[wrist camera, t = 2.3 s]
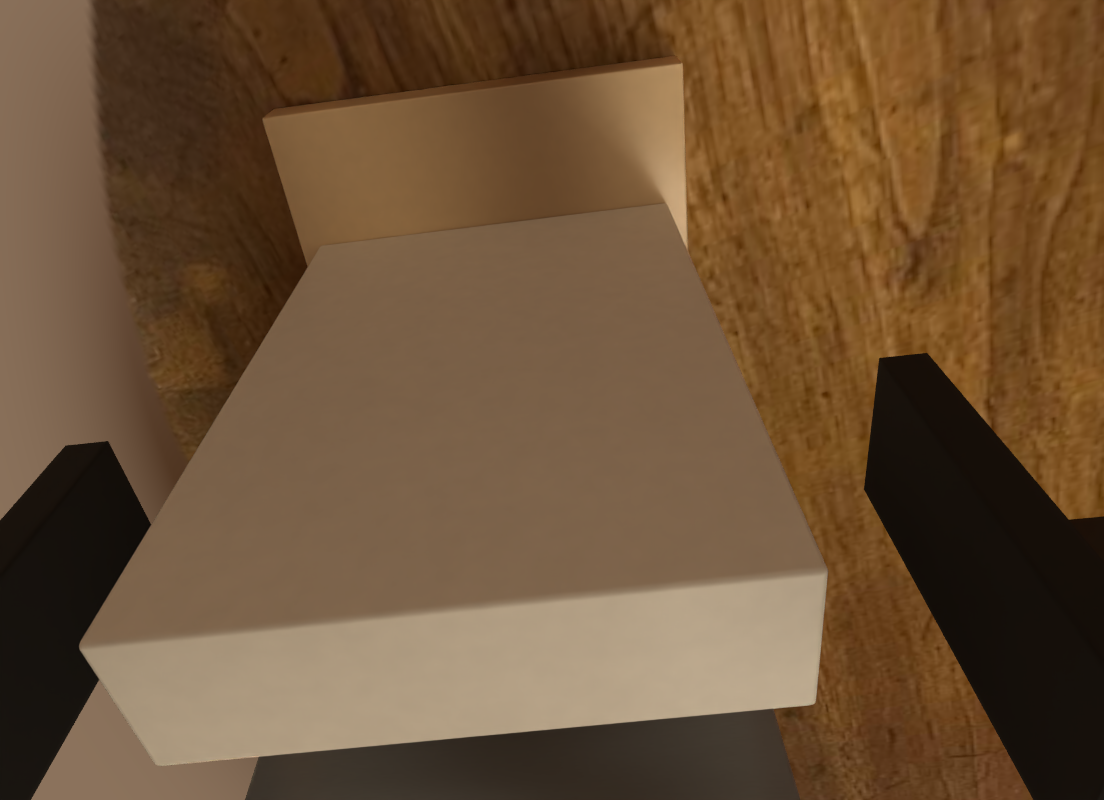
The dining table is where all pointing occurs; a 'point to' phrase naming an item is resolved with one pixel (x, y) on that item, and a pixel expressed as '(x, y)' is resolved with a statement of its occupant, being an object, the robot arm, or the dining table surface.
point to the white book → (471, 510)
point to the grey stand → (484, 199)
